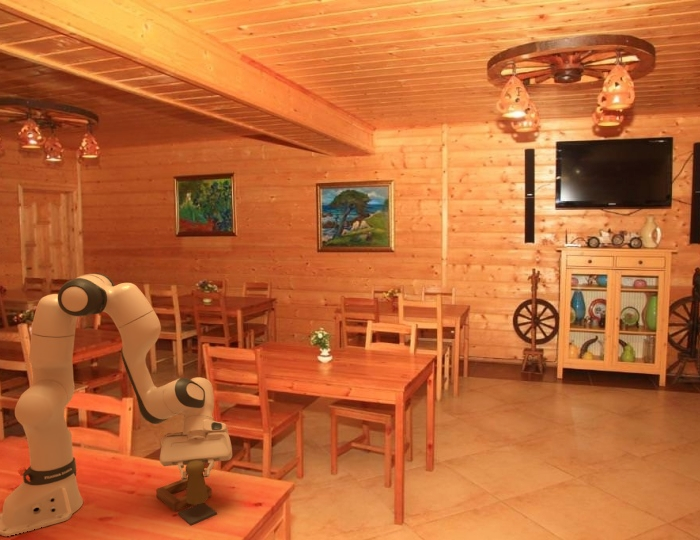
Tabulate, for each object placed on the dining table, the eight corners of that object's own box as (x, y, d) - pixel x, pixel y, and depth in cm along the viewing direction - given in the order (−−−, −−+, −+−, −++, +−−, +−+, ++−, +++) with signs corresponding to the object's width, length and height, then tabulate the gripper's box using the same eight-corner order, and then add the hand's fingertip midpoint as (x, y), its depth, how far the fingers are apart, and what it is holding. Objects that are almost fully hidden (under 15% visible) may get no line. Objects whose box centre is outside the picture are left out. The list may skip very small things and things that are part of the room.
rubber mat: (190, 525, 151) (190, 523, 151) (177, 514, 157) (177, 512, 157) (216, 514, 157) (216, 512, 157) (203, 503, 163) (203, 501, 163)
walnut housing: (174, 511, 159) (174, 503, 158) (156, 496, 167) (156, 488, 167) (211, 496, 167) (211, 488, 167) (193, 482, 176) (192, 475, 175)
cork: (199, 491, 161) (197, 455, 160) (212, 497, 157) (210, 460, 156) (181, 500, 156) (179, 463, 155) (194, 507, 153) (192, 469, 151)
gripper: (159, 429, 160) (155, 477, 151) (231, 423, 163) (230, 470, 154) (163, 438, 165) (159, 485, 156) (233, 432, 168) (232, 477, 159)
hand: (195, 477), depth 155 cm, fingers closed on cork, 5 cm apart
